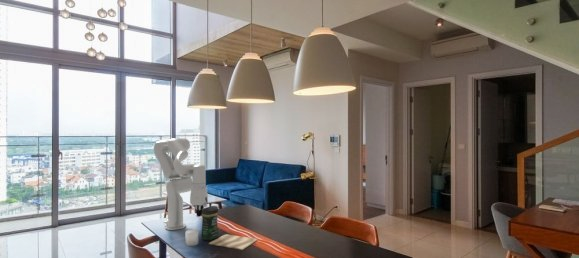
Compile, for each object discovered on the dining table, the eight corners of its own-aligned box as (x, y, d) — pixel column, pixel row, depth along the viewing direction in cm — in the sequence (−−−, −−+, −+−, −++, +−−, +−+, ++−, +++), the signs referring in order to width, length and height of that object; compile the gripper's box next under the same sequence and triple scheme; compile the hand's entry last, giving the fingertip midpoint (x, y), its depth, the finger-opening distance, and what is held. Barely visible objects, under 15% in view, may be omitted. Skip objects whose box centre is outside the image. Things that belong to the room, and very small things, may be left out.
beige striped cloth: (209, 244, 172) (209, 243, 172) (225, 235, 187) (225, 234, 187) (242, 249, 164) (242, 248, 164) (257, 240, 178) (257, 239, 178)
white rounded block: (182, 244, 171) (182, 232, 172) (191, 240, 178) (191, 228, 178) (192, 246, 169) (192, 233, 169) (201, 242, 175) (200, 230, 175)
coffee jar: (209, 241, 176) (208, 209, 176) (199, 239, 180) (198, 207, 180) (220, 236, 184) (220, 205, 184) (210, 234, 188) (210, 204, 188)
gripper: (185, 185, 185) (185, 216, 184) (205, 187, 179) (205, 219, 178) (193, 183, 192) (193, 213, 191) (213, 185, 186) (213, 215, 185)
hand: (199, 216), depth 185 cm, fingers closed
